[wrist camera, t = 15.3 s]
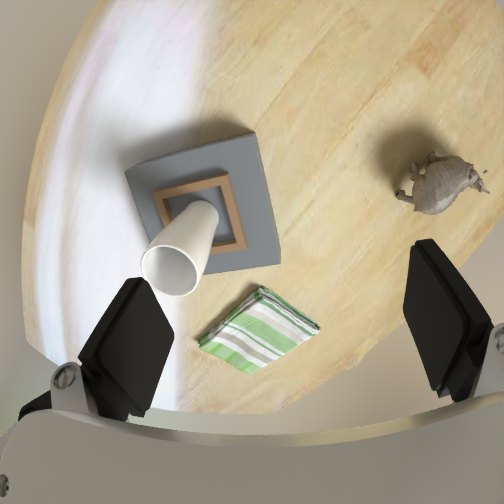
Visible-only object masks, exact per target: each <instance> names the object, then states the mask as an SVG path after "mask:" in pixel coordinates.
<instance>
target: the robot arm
mask: <svg viewBox="0 0 504 504" xmlns="http://www.w3.org/2000/svg"><path fill="white" fill-rule="evenodd" d="M403 313H404V316H405V319H406V321H407V323H408V326H409V328H410V331H411V333H412V336H413V338H414V341H415V344H416V346H417V349H418V352H419V354H420V357H421V360H422V363H423V365H424V368H425V371H426V374H427V377H428V380H429V383H430V386H431V389H432V390H433V391H437V394H438V397H439V398H441V397H444V396H447V395H451V398H452V400H453V403H452V404H451V405H448V406H444V407H441V408H438V409H435V410H431V411H427V412H424V413H420V414H416V415H412V416H408V417H404V418H400V419H395V420H391V421H386V422H381V423H377V424H371V425H366V426H360V427H353V428H347V429H340V430H331V431H323V432H312V433H301V434H281V435H228V434H210V433H198V432H187V431H177V430H170V429H162V428H155V427H149V426H143V425H138V424H133V423H130V422H129V420H128V415H129V413H130V414H131V415H132V416H137V417H144V415H145V412H146V410H148V409H149V408H150V405H151V403H152V400H153V397H154V394H155V391H156V388H157V385H158V382H159V379H160V377H161V374H162V371H163V368H164V365H165V363H166V360H167V357H168V354H169V352H170V349H171V346H172V344H173V341H174V331H173V329H172V327H171V326H170V324H169V322H168V320H167V318H166V316H165V314H164V312H163V310H162V308H161V306H160V304H159V303H158V301H157V299H156V297H155V295H154V292H153V290H152V288H151V286H150V284H149V283H148V281H146V280H144V279H143V278H142V277H137V278H129V279H127V280H126V281H125V283H124V284H123V286H122V287H121V288H120V290H119V291H118V293H117V294H116V296H115V297H114V299H113V300H112V302H111V304H110V305H109V307H108V308H107V310H106V311H105V313H104V314H103V316H102V317H101V319H100V321H99V322H98V324H97V325H96V327H95V329H94V330H93V332H92V334H91V335H90V337H89V338H88V340H87V342H86V343H85V345H84V347H83V349H82V350H81V352H80V354H79V355H78V359H79V360H80V361H81V362H82V365H81V367H80V366H79V365H78V364H77V363H75V362H67V363H65V364H63V365H61V366H60V367H59V368H58V369H57V370H56V371H55V372H54V374H53V376H52V378H51V382H50V389H51V390H49V391H47V392H46V393H44V394H42V395H41V396H39V397H38V398H36V399H34V400H32V401H31V402H29V403H28V404H26V405H25V406H23V407H22V408H21V410H20V414H19V418H18V422H16V423H15V424H14V425H13V426H12V427H11V428H10V429H9V430H8V431H7V432H6V433H5V434H4V435H3V436H2V437H1V438H0V504H504V323H500V324H498V325H496V326H495V327H494V326H493V324H492V322H491V319H490V317H489V315H488V314H487V312H486V311H485V309H484V307H483V306H482V304H481V303H480V301H479V300H478V298H477V297H476V295H475V294H474V292H473V291H472V290H471V288H470V287H469V285H468V284H467V283H466V281H465V280H464V278H463V277H462V276H461V274H460V273H459V272H458V270H457V269H456V268H455V266H454V265H453V264H452V262H451V261H450V260H449V259H448V257H447V256H446V255H445V254H444V252H443V251H442V250H441V249H440V247H439V246H438V245H437V244H436V243H435V241H434V240H433V239H424V240H417V241H416V242H415V245H413V246H411V250H410V260H409V268H408V276H407V284H406V291H405V297H404V303H403Z"/></svg>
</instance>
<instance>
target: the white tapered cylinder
mask: <svg viewBox="0 0 504 504" xmlns="http://www.w3.org/2000/svg"><path fill="white" fill-rule="evenodd" d="M218 222H219V215H218V212H217V210H216V208H215V207H214V206H213V205H212V204H211V203H209V202H207V201H202V200H198V201H194V202H192V203H190V204H189V205H188V206H187V207H186V208H185V209H184V210H183V211H182V212H181V213H180V214H179V215H178V216H177V217H176V218H174V219H173V220H172V221H171V222H170V223H169V224H168V225H167V226H166V227H165V228H163V229H162V230H161V231H160V232H159V233H158V235H157V236H156V237H155V238H154V239H153V241H152V242H151V243H150V245H149V246H148V248H147V249H146V251H145V252H144V254H143V256H142V258H141V271H142V274H143V276H144V278H145V280H146V281H148V283H149V284H150V286H151V287H152V288H154V289H155V290H156V291H158V292H160V293H162V294H164V295H167V296H172V297H180V296H185V295H188V294H189V293H191V292H192V291H194V289H195V288H196V287H197V285H198V283H199V281H200V279H201V277H202V275H203V273H204V270H205V267H206V265H207V262H208V258H209V254H210V250H211V246H212V242H213V238H214V234H215V231H216V228H217V225H218Z"/></svg>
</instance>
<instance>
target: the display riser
mask: <svg viewBox="0 0 504 504" xmlns="http://www.w3.org/2000/svg"><path fill="white" fill-rule="evenodd" d="M125 175H126V178H127V181H128V184H129V187H130V189H131V192H132V195H133V198H134V201H135V203H136V206H137V209H138V211H139V214H140V217H141V219H142V222H143V225H144V227H145V230H146V232H147V235H148V237H149V240H150V242H152V241H153V239H154V238H155V237H156V236H157V235H158V233H159V232H160V231H161V230H162V229H163V228H165V227H166V226H167V225H168V224H169V223H170V222H171V221H172V220H173V219H174V218H176V217H177V216H178V215H179V214H180V213H181V212H182V211H183V210H184V209H185V208H186V207H187V206H188V205H189V204H190V203H192V202H194V201H198V200H202V201H207V202H209V203H211V204H212V205H213V206H214V207H215V208H216V210H217V212H218V215H219V222H218V225H217V228H216V231H215V234H214V238H213V242H212V246H211V250H210V254H209V258H208V262H207V265H206V267H205V270H204V273H203V275H207V274H214V273H221V272H228V271H235V270H242V269H249V268H256V267H263V266H270V265H277V264H281V248H280V243H279V238H278V233H277V228H276V224H275V219H274V214H273V209H272V205H271V200H270V195H269V191H268V186H267V182H266V177H265V173H264V168H263V164H262V159H261V155H260V151H259V146H258V142H257V138H256V133H255V132H254V133H249V134H244V135H240V136H235V137H231V138H227V139H223V140H219V141H215V142H211V143H207V144H203V145H199V146H195V147H192V148H188V149H185V150H181V151H178V152H174V153H171V154H168V155H165V156H161V157H158V158H155V159H152V160H149V161H146V162H143V163H140V164H138V165H136V166H134V167H132V168H130V169H128V170H127V171H125Z"/></svg>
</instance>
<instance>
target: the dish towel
mask: <svg viewBox="0 0 504 504" xmlns="http://www.w3.org/2000/svg"><path fill="white" fill-rule="evenodd" d="M320 329H321V328H320V326H319V325H318V323H316V322H315V321H313V320H312V319H311V318H309V317H308V316H306V315H305V314H303V313H301V312H300V311H298V310H297V309H296V308H294V307H292V306H291V305H290V304H288V303H287V302H285V301H284V300H283V299H281V298H280V297H279V296H278V295H276V294H274V293H273V292H272V291H270V290H268V289H266V287H262V288H260V287H259V289H257V290H256V291H254V292H253V293H252V294H251V295H250V296H249V297H248V298H246V299H245V300H244V301H243V302H242V303H241V304H240V305H239V306H237V308H235V309H234V310H233V311H232V312H231V313H230V314H229V315H228V316H227V317H226V318H225V319H224V320H223V321H221V322H220V323H218V324H217V325H216V326H215V327H214V328H213V329H211V330H210V331H209V332H208V333H207V334H205V335H204V336H203V337H202V338H201V339H200V340H199V341H198V343H199V344H200V346H199V348H200V349H201V350H203V351H205V352H208V353H210V354H213V355H215V356H217V357H219V358H221V359H223V360H225V361H227V362H228V363H230V364H231V365H233V366H234V367H236V368H237V369H239V370H240V371H243V372H245V373H248V374H252V373H254V372H255V371H257V370H259V369H261V368H262V367H264V366H266V365H268V364H269V363H271V362H273V361H274V360H275V359H277V358H279V357H280V356H282V355H284V354H286V353H287V352H289V351H291V350H292V349H294V348H295V347H297V346H298V345H299V344H301V343H303V342H304V341H306V340H307V339H309V338H311V337H313V336H315V335H317V334H318V333H319V331H320Z"/></svg>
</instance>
